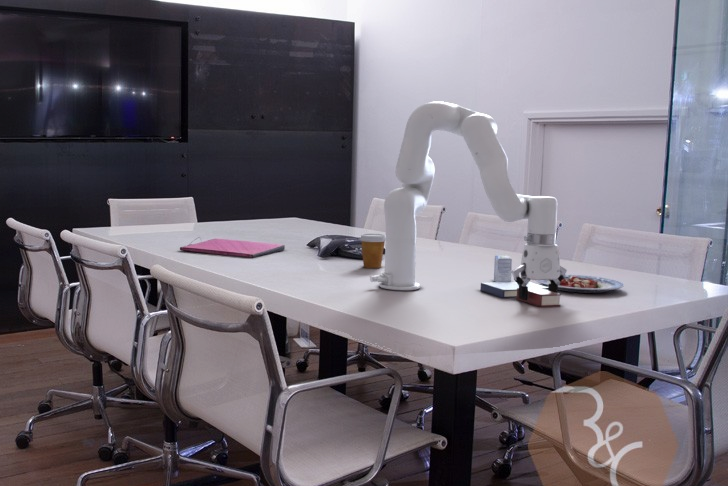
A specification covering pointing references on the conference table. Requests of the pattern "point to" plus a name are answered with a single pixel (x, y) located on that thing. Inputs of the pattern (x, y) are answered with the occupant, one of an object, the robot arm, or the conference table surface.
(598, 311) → the conference table surface
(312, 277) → the conference table surface
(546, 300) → the paperback
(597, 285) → the ceramic plate
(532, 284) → the hardback
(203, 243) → the laptop bag
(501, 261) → the medicine box
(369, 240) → the disposable coffee cup
